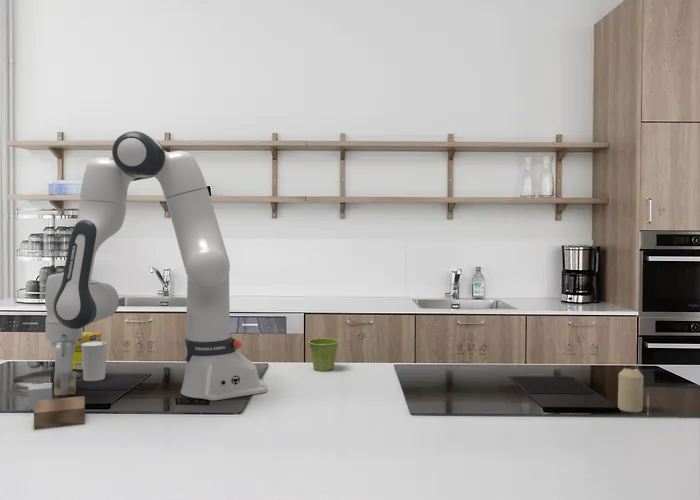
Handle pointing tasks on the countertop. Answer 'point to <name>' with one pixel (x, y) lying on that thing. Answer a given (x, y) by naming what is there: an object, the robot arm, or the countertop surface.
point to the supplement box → (78, 349)
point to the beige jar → (630, 390)
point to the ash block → (70, 384)
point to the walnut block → (59, 412)
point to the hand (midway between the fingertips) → (65, 384)
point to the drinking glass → (93, 360)
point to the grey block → (39, 393)
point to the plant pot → (323, 353)
